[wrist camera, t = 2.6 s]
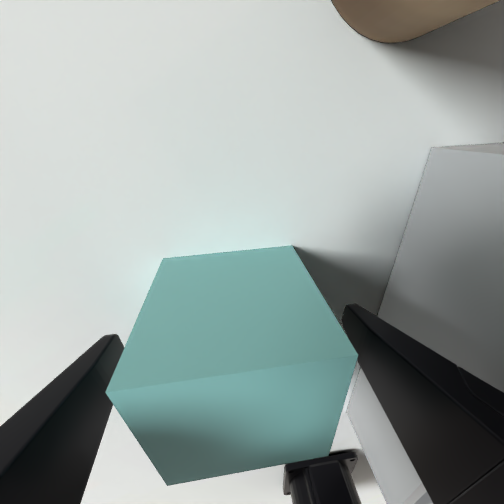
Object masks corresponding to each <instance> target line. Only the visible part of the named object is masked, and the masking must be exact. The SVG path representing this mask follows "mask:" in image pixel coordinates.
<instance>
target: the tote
mask: <svg viewBox="0 0 504 504" xmlns="http://www.w3.org/2000/svg"><path fill="white" fill-rule="evenodd" d="M377 317H379V318H381V319H382V320H384V321H386V322H387V323H389V324H390V325H392V326H394V327H395V328H397V329H399V330H400V331H402V332H404V333H405V334H407V335H409V336H410V337H412V338H413V339H415V340H417V341H418V342H420V343H422V344H423V345H425V346H427V347H428V348H430V349H432V350H433V351H435V352H437V353H438V354H440V355H441V356H443V357H445V358H446V359H448V360H450V361H451V362H453V363H455V364H456V365H457V367H458V366H459V367H461V368H463V369H465V370H466V371H468V372H470V373H471V374H473V375H474V376H476V377H478V378H480V379H481V380H483V381H485V382H486V383H488V384H490V385H491V386H493V387H495V388H497V389H498V390H500V391H502V392H504V143H491V144H476V145H460V146H445V147H432V148H431V151H430V155H429V158H428V161H427V164H426V167H425V170H424V173H423V176H422V179H421V182H420V185H419V189H418V192H417V195H416V198H415V201H414V204H413V207H412V210H411V213H410V216H409V220H408V223H407V226H406V229H405V232H404V235H403V238H402V241H401V244H400V247H399V250H398V254H397V257H396V260H395V263H394V266H393V269H392V272H391V275H390V278H389V281H388V285H387V288H386V291H385V294H384V297H383V300H382V303H381V306H380V309H379V312H378V315H377ZM346 413H347V415H348V417H349V419H350V422H351V424H352V426H353V429H354V431H355V433H356V435H357V438H358V440H359V442H360V444H361V447H362V449H363V451H364V453H365V456H366V458H367V460H368V463H369V465H370V467H371V469H372V472H373V474H374V476H375V478H376V481H377V483H378V485H379V487H380V490H381V492H382V494H383V496H384V499H385V501H386V503H387V504H433V502H432V500H431V498H430V497H429V495H428V493H427V491H426V489H425V487H424V485H423V483H422V482H421V480H420V478H419V476H418V474H417V472H416V470H415V468H414V466H413V465H412V463H411V461H410V459H409V457H408V455H407V453H406V451H405V450H404V448H403V446H402V444H401V442H400V440H399V438H398V436H397V434H396V433H395V431H394V429H393V427H392V425H391V423H390V421H389V419H388V418H387V416H386V414H385V412H384V410H383V408H382V406H381V404H380V402H379V401H378V399H377V397H376V395H375V393H374V391H373V389H372V387H371V386H370V384H369V382H368V380H367V378H366V376H365V374H364V372H363V370H362V369H361V368H360V371H359V374H358V377H357V380H356V384H355V387H354V390H353V393H352V396H351V399H350V402H349V405H348V408H347V411H346Z"/></svg>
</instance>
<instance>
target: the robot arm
mask: <svg viewBox="0 0 504 504" xmlns="http://www.w3.org/2000/svg"><path fill="white" fill-rule="evenodd" d="M342 324H343V327H344V329H345V331H346V334H347V336H348V339H349V340H350V342H351V344H352V345H353V347H354V349H355V350H356V352H357V354H358V358H357V361H358V363H359V365H360V367H361V369H362V370H363V372H364V374H365V376H366V378H367V380H368V382H369V384H370V386H371V387H372V389H373V391H374V393H375V395H376V397H377V399H378V401H379V402H380V404H381V406H382V408H383V410H384V412H385V414H386V416H387V418H388V419H389V421H390V423H391V425H392V427H393V429H394V431H395V433H396V434H397V436H398V438H399V440H400V442H401V444H402V446H403V448H404V450H405V451H406V453H407V455H408V457H409V459H410V461H411V463H412V465H413V466H414V468H415V470H416V472H417V474H418V476H419V478H420V480H421V482H422V483H423V485H424V487H425V489H426V491H427V493H428V495H429V497H430V498H431V500H432V502H433V504H504V392H502V391H500V390H498V389H497V388H495V387H493V386H491V385H490V384H488V383H486V382H485V381H483V380H481V379H480V378H478V377H476V376H474V375H473V374H471V373H470V372H468V371H466V370H465V369H463V368H461V367H459V366H458V367H457V365H456V364H455V363H453V362H451V361H450V360H448V359H446V358H445V357H443V356H441V355H440V354H438V353H437V352H435V351H433V350H432V349H430V348H428V347H427V346H425V345H423V344H422V343H420V342H418V341H417V340H415V339H413V338H412V337H410V336H409V335H407V334H405V333H404V332H402V331H400V330H399V329H397V328H395V327H394V326H392V325H390V324H389V323H387V322H386V321H384V320H382V319H381V318H379V317H377V316H376V315H374V314H372V313H371V312H369V311H367V310H366V309H364V308H363V307H361V306H359V305H357V304H348V305H346V306H345V308H344V313H343V317H342ZM123 350H124V346H123V344H122V342H121V340H120V338H119V336H118V335H117V334H111V335H105V336H103V337H102V338H101V339H100V340H98V341H97V342H96V343H95V344H94V345H93V346H92V347H90V348H89V349H88V350H87V351H86V352H85V353H84V354H82V355H81V356H80V357H79V358H78V359H77V360H76V361H74V362H73V363H72V364H71V365H70V366H69V367H68V368H66V369H65V370H64V371H63V372H62V373H61V374H60V375H58V376H57V377H56V378H55V379H54V380H53V381H52V382H50V383H49V384H48V385H47V386H46V387H45V388H44V389H42V390H41V391H40V392H39V393H38V394H37V395H36V396H34V397H33V398H32V399H31V400H30V401H29V402H28V403H26V404H25V405H24V406H23V407H22V408H21V409H20V410H19V411H17V412H16V413H15V414H14V415H13V416H12V417H11V418H9V419H8V420H7V421H6V422H5V423H4V424H3V425H1V426H0V504H80V503H81V500H82V497H83V494H84V491H85V488H86V485H87V482H88V479H89V476H90V473H91V470H92V467H93V464H94V461H95V458H96V455H97V452H98V449H99V446H100V443H101V439H102V436H103V433H104V430H105V427H106V424H107V421H108V418H109V415H110V412H111V409H112V406H113V403H112V402H111V400H110V399H109V397H108V396H107V394H106V393H105V392H106V390H107V387H108V385H109V383H110V380H111V378H112V376H113V373H114V371H115V369H116V366H117V364H118V362H119V360H120V357H121V355H122V353H123ZM357 460H358V458H357V455H356V453H355V452H349V453H344V454H338V455H333V456H328V457H322V458H317V459H311V460H306V461H301V462H295V463H290V464H287V465H285V467H284V480H283V492H284V495H290V494H291V497H292V502H293V504H361V501H360V498H359V496H358V493H357V490H356V488H355V485H354V482H353V480H352V477H351V473H352V471H353V468H354V466H355V464H356V462H357Z"/></svg>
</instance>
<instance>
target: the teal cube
mask: <svg viewBox="0 0 504 504" xmlns="http://www.w3.org/2000/svg"><path fill="white" fill-rule="evenodd" d="M357 358H358V354H357V352H356V350H355V349H354V347H353V345H352V344H351V342H350V340H349V339H348V337H347V336H346V334H345V332H344V331H343V329H342V327H341V326H340V324H339V322H338V321H337V319H336V317H335V316H334V314H333V312H332V311H331V309H330V307H329V306H328V304H327V302H326V301H325V299H324V297H323V296H322V294H321V292H320V291H319V289H318V288H317V286H316V284H315V283H314V281H313V279H312V278H311V276H310V274H309V273H308V271H307V269H306V268H305V266H304V264H303V263H302V261H301V259H300V258H299V256H298V254H297V253H296V251H295V249H294V248H293V246H282V247H272V248H262V249H252V250H242V251H232V252H223V253H213V254H203V255H193V256H183V257H173V258H163V260H162V262H161V264H160V267H159V269H158V271H157V274H156V276H155V278H154V280H153V283H152V285H151V287H150V290H149V292H148V294H147V297H146V299H145V301H144V304H143V306H142V308H141V311H140V313H139V315H138V318H137V320H136V322H135V325H134V327H133V329H132V332H131V334H130V336H129V339H128V341H127V343H126V346H125V348H124V350H123V353H122V355H121V357H120V360H119V362H118V364H117V366H116V369H115V371H114V373H113V376H112V378H111V380H110V383H109V385H108V387H107V390H106V392H105V393H106V394H107V396H108V397H109V399H110V400H111V402H112V403H113V405H114V406H115V408H116V409H117V411H118V412H119V414H120V415H121V417H122V418H123V420H124V421H125V423H126V424H127V426H128V427H129V429H130V430H131V432H132V433H133V435H134V436H135V438H136V439H137V441H138V442H139V444H140V445H141V447H142V448H143V450H144V451H145V453H146V454H147V456H148V457H149V459H150V460H151V462H152V463H153V465H154V466H155V468H156V469H157V471H158V472H159V474H160V475H161V477H162V478H163V480H164V482H165V483H166V485H167V486H168V485H174V484H179V483H185V482H190V481H195V480H201V479H206V478H212V477H217V476H222V475H228V474H233V473H239V472H244V471H249V470H255V469H260V468H266V467H271V466H276V465H282V464H287V463H293V462H298V461H303V460H309V459H314V458H320V457H325V456H329V452H330V449H331V446H332V442H333V439H334V436H335V432H336V429H337V425H338V422H339V419H340V415H341V412H342V409H343V405H344V402H345V398H346V395H347V392H348V388H349V385H350V382H351V378H352V375H353V372H354V368H355V365H356V361H357Z"/></svg>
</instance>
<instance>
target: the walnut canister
mask: <svg viewBox="0 0 504 504" xmlns="http://www.w3.org/2000/svg"><path fill="white" fill-rule="evenodd" d="M331 1H332V3H333V5H334V6H335V8H336V9H337V11H338V12H339V14H340V15H341V16H342V18H343V19H344V20H345V21H346V22H347V23H348V24H349V25H350V26H351V27H352V28H353V29H355V30H356V31H357V32H358V33H360V34H361V35H363V36H365V37H367V38H369V39H372V40H376V41H379V42H386V43H396V42H404V41H408V40H411V39H415V38H417V37H420V36H422V35H424V34H426V33H428V32H431V31H433V30H435V29H437V28H440V27H442V26H444V25H446V24H449V23H451V22H453V21H455V20H457V19H460V18H462V17H464V16H466V15H469V14H471V13H473V12H475V11H478V10H480V9H482V8H484V7H486V6H489V5H491V4H493V3H495V2H498V1H500V0H331Z"/></svg>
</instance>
